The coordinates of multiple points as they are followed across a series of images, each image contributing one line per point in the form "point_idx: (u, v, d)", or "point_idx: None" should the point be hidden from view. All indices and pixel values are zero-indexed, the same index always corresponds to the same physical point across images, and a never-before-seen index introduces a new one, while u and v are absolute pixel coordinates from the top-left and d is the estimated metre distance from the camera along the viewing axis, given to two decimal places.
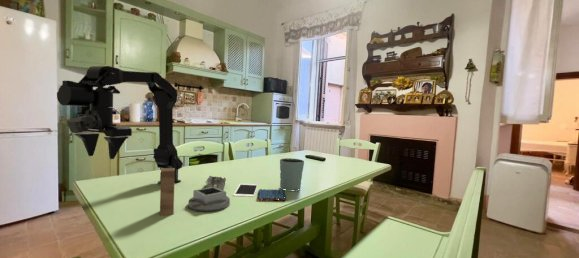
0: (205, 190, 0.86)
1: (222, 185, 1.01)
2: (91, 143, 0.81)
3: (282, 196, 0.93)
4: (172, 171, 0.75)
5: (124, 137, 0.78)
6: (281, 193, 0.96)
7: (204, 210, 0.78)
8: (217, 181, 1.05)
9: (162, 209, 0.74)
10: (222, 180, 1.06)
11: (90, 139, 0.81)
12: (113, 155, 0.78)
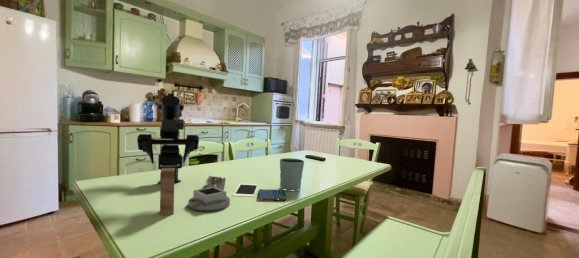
0: (205, 190, 0.86)
1: (222, 185, 1.01)
2: None
3: (282, 196, 0.92)
4: (172, 171, 0.75)
5: None
6: (281, 193, 0.96)
7: (204, 210, 0.78)
8: (217, 181, 1.05)
9: (162, 209, 0.74)
10: (222, 180, 1.06)
11: None
12: (185, 159, 0.86)
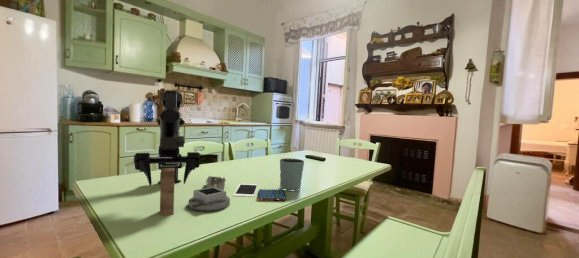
0: (205, 190, 0.86)
1: (222, 185, 1.01)
2: None
3: (282, 196, 0.92)
4: (172, 171, 0.75)
5: None
6: (281, 193, 0.96)
7: (204, 210, 0.78)
8: (217, 181, 1.05)
9: (162, 209, 0.74)
10: (222, 180, 1.06)
11: None
12: (186, 179, 0.79)
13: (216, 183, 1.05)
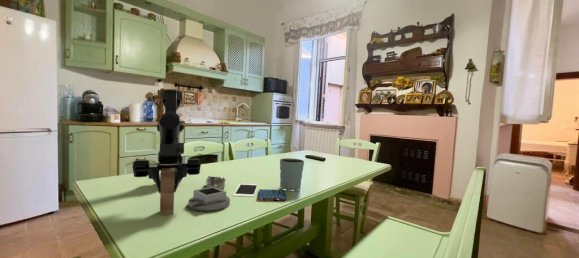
0: (205, 190, 0.86)
1: (222, 185, 1.01)
2: None
3: (282, 196, 0.92)
4: (172, 171, 0.75)
5: (186, 173, 0.82)
6: (281, 193, 0.96)
7: (204, 210, 0.78)
8: (217, 181, 1.05)
9: (162, 209, 0.74)
10: (222, 180, 1.07)
11: None
12: (176, 188, 0.77)
13: (216, 183, 1.05)
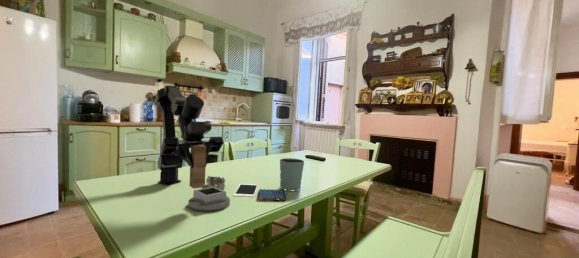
0: (205, 190, 0.86)
1: (223, 185, 1.02)
2: None
3: (282, 196, 0.92)
4: (204, 147, 0.80)
5: None
6: (281, 193, 0.96)
7: (204, 210, 0.78)
8: (216, 181, 1.05)
9: (195, 183, 0.79)
10: (221, 180, 1.07)
11: None
12: None
13: (216, 183, 1.05)
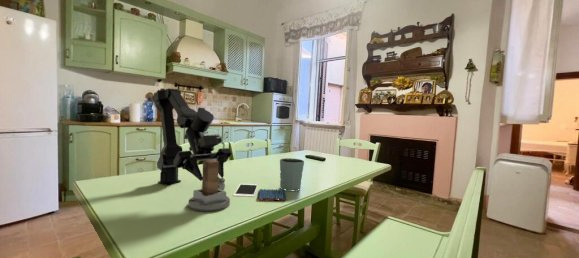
0: None
1: (223, 185, 1.02)
2: None
3: (282, 196, 0.92)
4: (216, 162, 0.83)
5: None
6: (281, 193, 0.96)
7: (204, 210, 0.78)
8: None
9: None
10: (221, 180, 1.07)
11: None
12: None
13: None
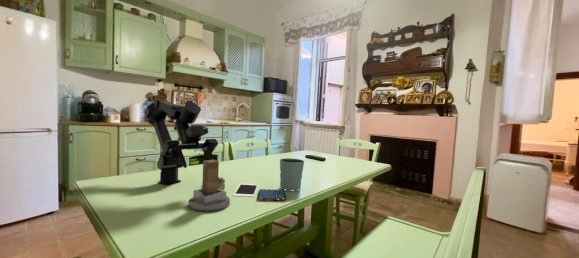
0: None
1: (223, 185, 1.02)
2: None
3: (282, 196, 0.92)
4: (217, 162, 0.84)
5: None
6: (281, 193, 0.96)
7: (204, 210, 0.78)
8: None
9: None
10: (221, 180, 1.07)
11: None
12: None
13: None
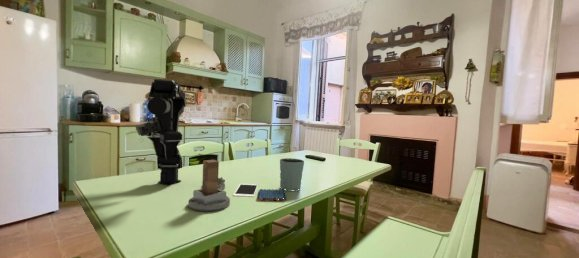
0: None
1: (223, 185, 1.02)
2: (158, 145, 0.96)
3: (282, 196, 0.92)
4: (217, 162, 0.84)
5: (176, 141, 0.88)
6: (281, 193, 0.96)
7: (204, 210, 0.78)
8: None
9: None
10: (220, 180, 1.07)
11: (158, 142, 0.96)
12: (168, 156, 0.89)
13: None
